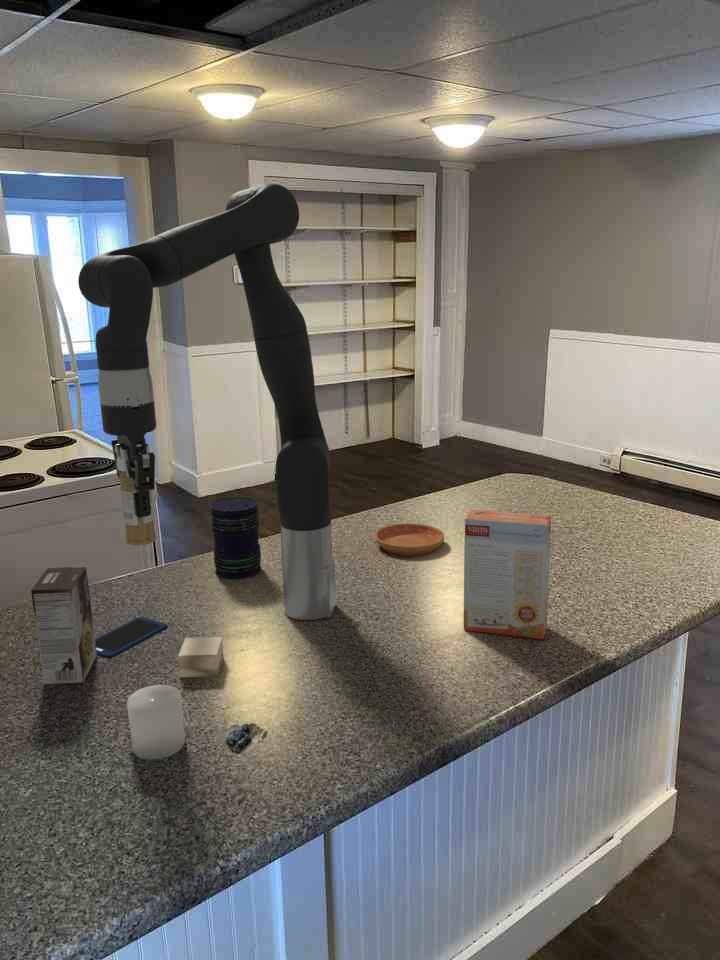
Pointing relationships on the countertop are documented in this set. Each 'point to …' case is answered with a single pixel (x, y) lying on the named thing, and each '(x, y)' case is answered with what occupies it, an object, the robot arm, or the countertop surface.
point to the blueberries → (242, 736)
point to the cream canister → (156, 722)
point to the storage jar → (236, 538)
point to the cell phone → (127, 636)
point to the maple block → (201, 657)
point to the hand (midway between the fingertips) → (138, 511)
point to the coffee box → (64, 625)
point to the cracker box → (506, 573)
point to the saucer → (409, 539)
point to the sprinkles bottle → (136, 528)
